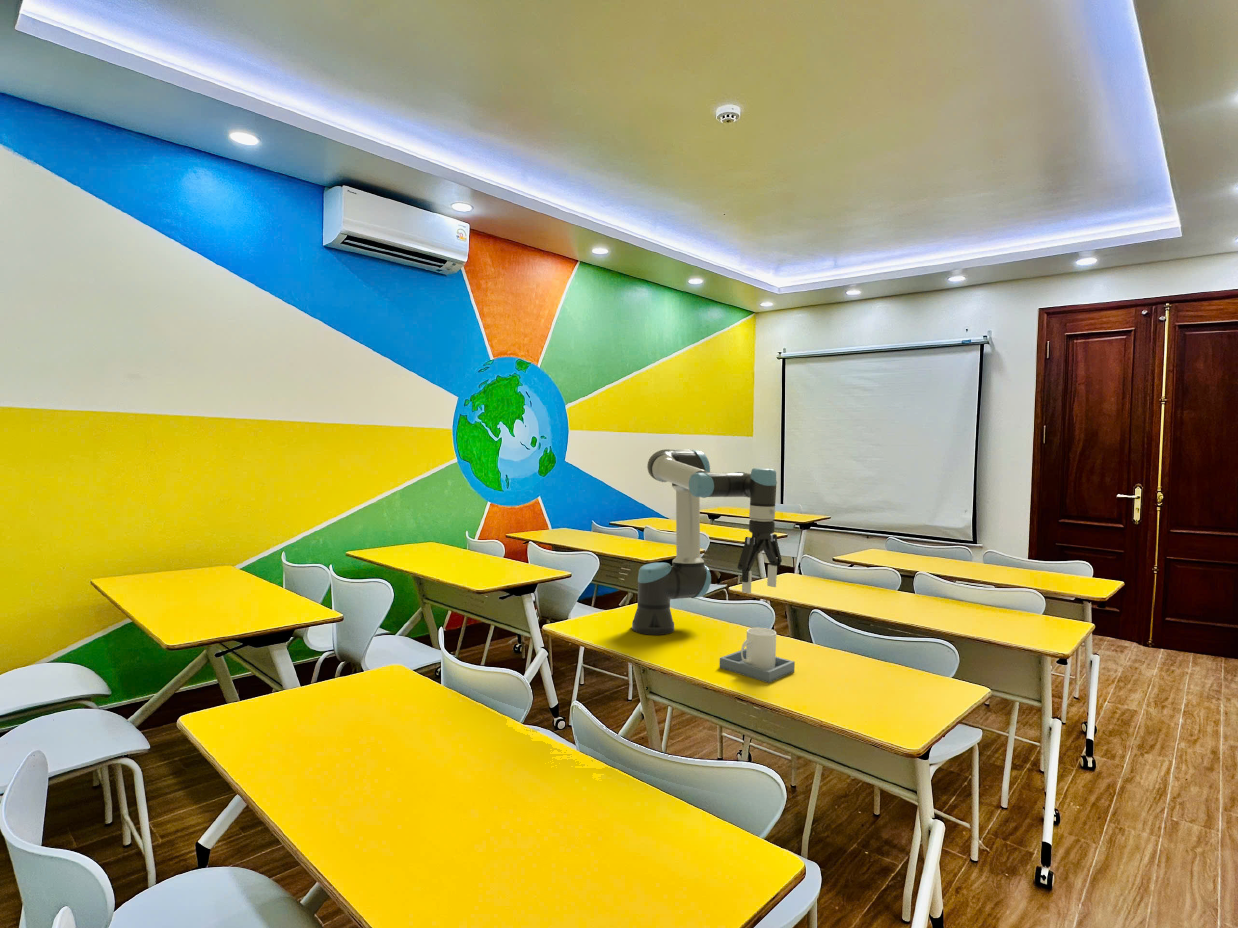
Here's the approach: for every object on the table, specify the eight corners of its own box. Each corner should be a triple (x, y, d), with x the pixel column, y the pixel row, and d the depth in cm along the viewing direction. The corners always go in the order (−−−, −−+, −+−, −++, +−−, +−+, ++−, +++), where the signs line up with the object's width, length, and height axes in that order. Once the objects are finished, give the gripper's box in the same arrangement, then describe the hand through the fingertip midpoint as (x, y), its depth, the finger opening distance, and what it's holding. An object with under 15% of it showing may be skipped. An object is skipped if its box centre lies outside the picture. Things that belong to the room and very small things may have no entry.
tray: (719, 667, 200) (719, 657, 200) (745, 657, 210) (746, 648, 210) (769, 682, 189) (769, 672, 188) (794, 671, 199) (794, 661, 199)
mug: (731, 666, 200) (732, 630, 200) (761, 660, 206) (762, 626, 206) (750, 675, 193) (751, 638, 192) (781, 668, 199) (782, 633, 198)
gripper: (748, 524, 190) (745, 598, 191) (794, 518, 208) (792, 585, 209) (727, 521, 195) (724, 593, 196) (773, 515, 213) (771, 581, 214)
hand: (759, 589), depth 202 cm, fingers open, 13 cm apart
